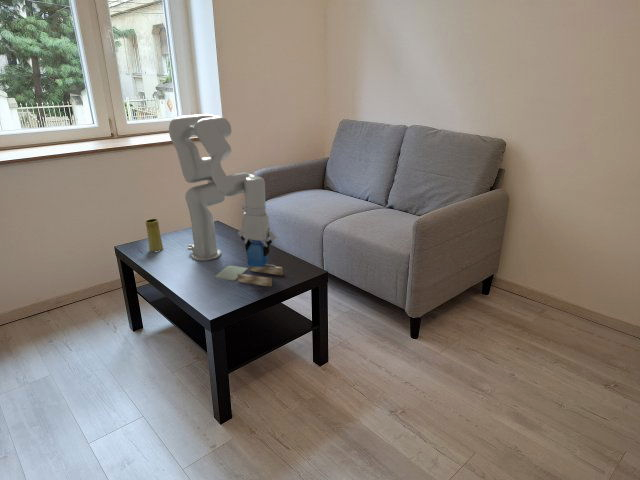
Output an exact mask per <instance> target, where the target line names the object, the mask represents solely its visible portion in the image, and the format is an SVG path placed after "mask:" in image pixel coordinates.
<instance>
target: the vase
mask: <svg viewBox="0 0 640 480" xmlns="http://www.w3.org/2000/svg"><path fill="white" fill-rule="evenodd" d="M145 226H146V231H147V239H148V240H147V242H148V250H150V251H149V252H151V251H159V250H161V251H163V250H164V247H163V241H162V237H161V230H160V225H159V220H158V219H157V218H149V219H146V220H145ZM162 249H163V250H162ZM159 252H160V251H159Z"/></svg>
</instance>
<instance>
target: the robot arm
mask: <svg viewBox="0 0 640 480" xmlns="http://www.w3.org/2000/svg"><path fill="white" fill-rule="evenodd" d="M168 134H169V137H170V140H171V142H172V144H173V146H174V149H175V150H176V154H177V158H178V162H179V166H180V169H181V171H182V172H181V173H182V176H183V178H184V181H186V182H187V183H188V184H197V183H200V182H204V181H207V183H204V184H198V185H195V186H192V187H190V188H188V190H186V192H185V193H184V194H185V195H184V198H185V202H186V204H187V207H188V213H189V217H190V223H191V232H192V233H191V234H192V240H193V243H192V244H191V243H189V244H188V245H187V250H188V251H192V253H191V258H192V259H193V260H195V261H199V262H205V261H211V260H215V259H217V258H219V257H220V256H221V254H222V253H221V249H218V247H217V239H216V230H215V228H216V227H215V221H214V215H213V214H212V212H211V211H210V210H209V209H208V208H209V207H212V206H215V205H218V204H221V203H223V202H225V200H226V197H233V196H237V195H241V194H244V204H245V205H242V207H241V208H242V209H243V210H244V212H243V214H242V221H241V229H240V230H239V231H238V232H237V235H238V236H239V237H240V239H241V241H243V243H244V245H245V251H246V254H247V250H248V248H249V246H250V244H251V243H252V241H253V240H257V241H263V244H264V247H263V252H264V256H266V255H268V256H269V254H270V245H271V244H272V243H273V242H274V241H275V240H277V236H276V235H275V234H274V233H273V231H272V230H271V225H270V218H269V215H268V212H267V211H266V210H267V209H266V207H267V205H266V184H265V183H266V182H265V179H264V177H262V176H258V175H254V174H252V172H248V171H244V172H239V173H233V174H230V175H227V174H226V172H225V171H224V169H223V167H222V162H223V161H225V160H226V159H227V158H228V157H229V156H230V154H231V152H232V146H231V145H230V144H229V142H228V141H227V139H226V138H229V137H230V136H231V134H232V125H231V123H230V122H229V121H228V119H227V118H225V117H224V116H219V115H214V114H210V113H204V114H203V113H202V114H188V115H182V116H177V117H175V118H173V119H172V120H171V121H170V122H169V125H168ZM195 137H196V138H198V140H199V141H200V142H201V145H202V146H203V148H204V149H205V150H206V152H207V153H208V155H209V156H207V157H206V156H205V157H201V155H200V152H199V148H198V146H197V145H196V143H195V142H194V141H193V140H192V139H191V138H195ZM269 238H270V239H269Z"/></svg>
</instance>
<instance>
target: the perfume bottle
mask: <svg viewBox="0 0 640 480" xmlns="http://www.w3.org/2000/svg"><path fill="white" fill-rule="evenodd" d="M263 247H264V244H263V241H257V240H252V241H251V244H250V246H249V248H248V250H247V253H246V255H247V256H246V257H247V258H246V259H247V260H246V261H247V266H249V267H250V266H255V267H264V265H265V264H268V261H269V254H268V255H266V256H264V252H263Z"/></svg>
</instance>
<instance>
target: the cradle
mask: <svg viewBox="0 0 640 480" xmlns="http://www.w3.org/2000/svg"><path fill="white" fill-rule="evenodd" d="M283 270H284V269H283V267H282V266H276V264H271V263H270V264H269V263H266V264H265V265H264V267H255V266H249V271H250V272H256V273H261V274H262V273H264V274H269V275H276V276H282V275H283V273H284V272H283ZM237 276H238V279H237V282H239V283H245V284H251V285H259V286H265V287H272V286H273V280H272V279H273V278H272V277H265V276H259V275H252V274H248V273H247V274H246V273H243V274H240V273H239V274H238V275H237Z"/></svg>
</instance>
